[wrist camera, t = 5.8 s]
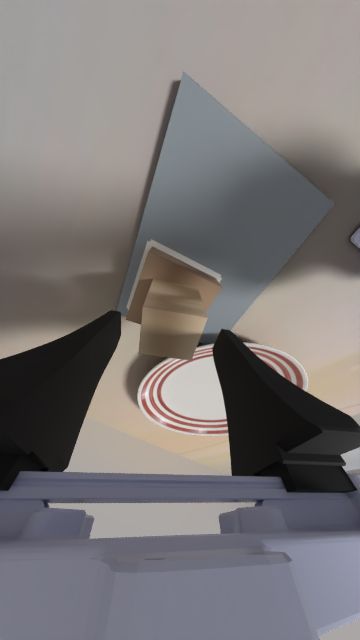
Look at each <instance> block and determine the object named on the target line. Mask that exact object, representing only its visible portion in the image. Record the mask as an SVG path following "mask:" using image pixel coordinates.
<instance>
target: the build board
mask: <svg viewBox="0 0 360 640" xmlns="http://www.w3.org/2000/svg"><path fill="white" fill-rule="evenodd" d="M334 205H335V203H333V202H332V201H331V200H330V199H329V198H328V197H327V196H325V195H324V194H323V193H322V192H321V191H320V190H319V189H317V188H316V187H315V186H314V185H313V184H312V183H311V182H309V181H308V180H307V179H306V178H305V177H304V176H303V175H302V174H300V173H299V172H298V171H297V170H296V169H295V168H294V167H292V166H291V165H290V164H289V163H288V162H287V161H286V160H284V159H283V158H282V157H281V156H280V155H279V154H278V153H276V152H275V151H274V150H273V149H272V148H271V147H270V146H268V145H267V144H266V143H265V142H264V141H263V140H262V139H260V138H259V137H258V136H257V135H256V134H255V133H254V132H252V131H251V130H250V129H249V128H248V127H247V126H246V125H244V124H243V123H242V122H241V121H240V120H239V119H238V118H236V117H235V116H234V115H233V114H232V113H231V112H230V111H228V110H227V109H226V108H225V107H224V106H223V105H222V104H220V103H219V102H218V101H217V100H216V99H215V98H214V97H212V96H211V95H210V94H209V93H208V92H207V91H206V90H204V89H203V88H202V87H201V86H200V85H199V84H198V83H196V82H195V81H194V80H193V79H192V78H191V77H190V76H188V75H187V74H186V73H185V72H184V71H183V75H182V79H181V82H180V86H179V89H178V93H177V96H176V100H175V103H174V107H173V111H172V114H171V118H170V121H169V125H168V128H167V132H166V135H165V139H164V143H163V146H162V150H161V153H160V157H159V160H158V164H157V167H156V171H155V175H154V178H153V182H152V185H151V189H150V192H149V196H148V200H147V203H146V207H145V210H144V214H143V217H142V221H141V224H140V228H139V232H138V235H137V239H136V242H135V246H134V249H133V253H132V256H131V260H130V264H129V267H128V271H127V274H126V278H125V281H124V285H123V288H122V292H121V296H120V299H119V303H118V306H117V310H116V311H119V312H121V315H123V316H126V317H127V314H128V311H129V308H130V305H131V302H132V299H133V296H134V293H135V290H136V287H137V284H138V281H139V278H140V275H141V272H142V269H143V266H144V263H145V260H146V257H147V254H148V251H149V250H150V249H151V248H152V247H154V248H156V249H158V250H160V251H162V252H164V253H166V254H168V255H170V256H172V257H174V258H176V259H178V260H180V261H182V262H184V263H186V264H188V265H190V266H192V267H194V268H196V269H198V270H200V271H202V272H204V273H206V274H208V275H210V276H212V277H214V278H216V279H217V281H218V282H219V284H220V285H221V287H222V289H221V290H220V292H219V293H218V295H217V296H216V298H215V299H214V301H213V302H212V304H211V305H210V307H209V308H208V310H207V311H206V314H207V317H208V319H207V321H206V324H205V327H204V329H203V332H202V334H201V337H200V340H199V342H200V343H203V344H206V345H208V344H215V341H216V339H217V337H218V335H219V333H220V331H221V329H226V330H231V329H232V327H233V326H234V325H235V324H236V323H237V321H238V320H239V319H240V318H241V317H242V315H243V314H244V313H245V312H246V310H247V309H248V308H249V307H250V306H251V304H252V303H253V302H254V301H255V300H256V298H257V297H258V296H259V295H260V294H261V292H262V291H263V290H264V289H265V288H266V286H267V285H268V284H269V283H270V282H271V280H272V279H273V278H274V277H275V276H276V274H277V273H278V272H279V271H280V270H281V268H282V267H283V266H284V265H285V264H286V262H287V261H288V260H289V259H290V258H291V256H292V255H293V254H294V253H295V252H296V250H297V249H298V248H299V247H300V246H301V244H302V243H303V242H304V241H305V239H306V238H307V237H308V236H309V235H310V233H311V232H312V231H313V230H314V229H315V227H316V226H317V225H318V224H319V223H320V221H321V220H322V219H323V218H324V217H325V215H326V214H327V213H328V212H329V211H330V209H331V208H332V207H333V206H334Z"/></svg>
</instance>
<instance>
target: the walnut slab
mask: <svg viewBox="0 0 360 640" xmlns="http://www.w3.org/2000/svg"><path fill="white" fill-rule="evenodd" d="M153 279H157V280H162V281H167V282H172V283H177V284H182V285H187V286H192V287H197V288H198V290H199V293H200V296H201V299H202V302H203V305H204V308H205V311H207V310H208V308H209V307H210V305H211V304H212V302H213V301H214V299H215V298H216V296H217V295H218V293H219V292H220V290H221V289H222V287H221V285H220V284H219V282H218V281H217V279H216V278H214V277H212V276H210V275H208V274H206V273H204V272H202V271H200V270H198V269H196V268H194V267H192V266H190V265H188V264H186V263H184V262H182V261H180V260H178V259H176V258H174V257H172V256H170V255H168V254H166V253H164V252H162V251H160V250H158V249H156V248H154V247H152V248H151V249H150V250H149V251H148V254H147V257H146V260H145V263H144V266H143V269H142V272H141V275H140V278H139V281H138V284H137V287H136V290H135V293H134V296H133V299H132V302H131V305H130V308H129V311H128V314H127V317H126V320H129V321H132V322H135V323H138V324H141V321H142V310H143V305H144V302H145V299H146V297H147V294H148V291H149V289H150V286H151V283H152V281H153Z"/></svg>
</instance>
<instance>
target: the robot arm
mask: <svg viewBox="0 0 360 640" xmlns="http://www.w3.org/2000/svg"><path fill="white" fill-rule="evenodd" d="M351 242H352V243H353V244H355V245H356V246H357V247H358V248H360V228H359V229H358V230H357V231H356V232H355V233H354V234H353V235H352V237H351ZM120 336H121V312H119V311H113V310H111V311H109V312H107V313H106V314H104V315H103V316H101V317H99V318H98V319H96V320H94V321H92V322H91V323H89V324H87V325H85V326H83V327H82V328H80V329H78V330H76V331H74V332H72V333H70V334H68V335H66V336H64V337H61V338H59V339H57V340H54V341H52V342H50V343H47V344H44V345H42V346H39V347H36V348H33V349H31V350H28V351H25V352H22V353H19V354H16V355H13V356H10V357H7V358H3V359H0V640H320V639H319V636H320V635H323V634H325V633H327V632H329V631H332V630H334V629H337V628H339V627H341V626H343V625H346V624H348V623H350V622H353V621H355V620H357V619H360V473H352V474H347V473H346V472H345V470H344V469H343V468H342V466H345V465H346V463H345V461H344V460H343V459H342V457H341V456H340V455H341V454H343V453H346V452H348V451H351V450H353V449H356V448H358V447H360V426H359V425H358V424H357V423H356V422H355V421H354V419H353V418H351V417H350V416H349V415H347V414H345V413H343V412H341V411H340V410H338V409H336V408H334V407H332V406H330V405H328V404H327V403H325V402H323V401H321V400H319V399H318V398H316V397H314V396H313V395H311V394H309V393H308V392H306V391H304V390H303V389H301V388H300V387H298V386H296V385H295V384H293V383H292V382H290V381H289V380H288V379H286V378H285V377H283V376H282V375H280V374H279V373H278V372H276V371H275V370H274V369H272V368H271V367H270V366H269V365H267V364H266V363H265V362H264V361H263V360H261V359H260V358H259V357H258V356H257V355H256V354H255V353H253V352H252V351H251V350H250V349H249V348H248V347H247V346H246V345H245V344H244V343H243V342H242V341H241V340H240V339H239V338H238V337H237V336H236V335H234V334H233V333H232V332H231V331H230V330H226V329H221V331H220V333H219V335H218V337H217V339H216V341H215V344H214V346H213V348H212V351H213V359H214V364H215V367H216V371H217V375H218V378H219V382H220V386H221V389H222V394H223V399H224V405H225V411H226V418H227V425H228V434H229V444H230V456H231V470H232V476H212V475H211V476H210V475H168V474H124V473H123V474H121V473H79V472H78V473H77V472H63V471H64V470H65V469H66V468H67V467H68V465H69V461H70V458H71V455H72V453H73V450H74V447H75V444H76V441H77V438H78V435H79V432H80V429H81V427H82V424H83V421H84V418H85V416H86V413H87V410H88V408H89V405H90V403H91V400H92V397H93V395H94V392H95V390H96V387H97V385H98V382H99V380H100V378H101V376H102V374H103V372H104V370H105V369H106V367H107V365H108V363H109V361H110V359H111V357H112V355H113V353H114V351H115V349H116V347H117V345H118V342H119V339H120ZM183 502H184V503H188V502H189V503H190V502H191V503H193V502H195V503H196V502H197V503H201V502H256V504H255V507H245V508H238V509H236V510H234V511H231V512H227V513H222V514H220V515H219V523H220V529H221V533H220V534H203V535H175V536H147V537H124V538H123V537H122V538H98V539H89V537H90V532H91V529H92V525H93V521H94V517H93V516H90V515H86V512H85V510H74V509H73V510H72V509H58V508H49V505H48V503H183Z"/></svg>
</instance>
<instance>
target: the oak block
mask: <svg viewBox="0 0 360 640" xmlns="http://www.w3.org/2000/svg"><path fill="white" fill-rule="evenodd" d="M207 319H208V317H207V314H206V311H205V308H204V305H203V302H202V299H201V296H200V293H199V290H198V288H197V287H192V286H187V285H182V284H177V283H172V282H167V281H162V280H157V279H153V281H152V283H151V286H150V289H149V291H148V294H147V297H146V299H145V302H144V305H143V310H142V321H141V332H140V343H139V354H143V355H151V356H159V357H167V358H174V359H182V360H190V361H192V358H193V355H194V353H195V350H196V348H197V345H198V342H199V340H200V337H201V334H202V332H203V329H204V327H205V324H206V321H207Z"/></svg>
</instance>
